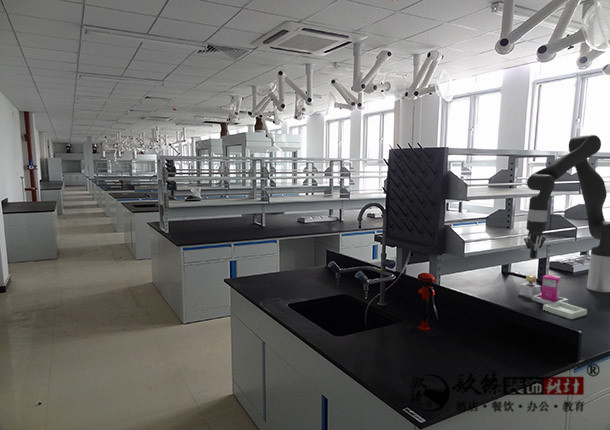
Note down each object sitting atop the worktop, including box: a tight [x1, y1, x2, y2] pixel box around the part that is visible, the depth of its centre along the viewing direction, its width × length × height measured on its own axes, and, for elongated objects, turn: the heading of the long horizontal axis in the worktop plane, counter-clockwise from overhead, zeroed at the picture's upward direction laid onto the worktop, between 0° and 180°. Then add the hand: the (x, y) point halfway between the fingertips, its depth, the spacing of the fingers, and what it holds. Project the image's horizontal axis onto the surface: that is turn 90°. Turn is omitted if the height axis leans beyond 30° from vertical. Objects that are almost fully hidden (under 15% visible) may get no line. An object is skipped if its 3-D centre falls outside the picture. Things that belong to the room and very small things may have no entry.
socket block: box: [518, 282, 570, 305], centre depth 177 cm, size 10×17×5 cm, turn 28°
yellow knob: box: [525, 274, 537, 286], centre depth 181 cm, size 4×4×6 cm
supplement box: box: [541, 273, 562, 302], centre depth 173 cm, size 6×6×12 cm
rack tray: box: [542, 301, 588, 320], centre depth 162 cm, size 11×11×2 cm
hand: (533, 258), depth 180 cm, fingers closed
